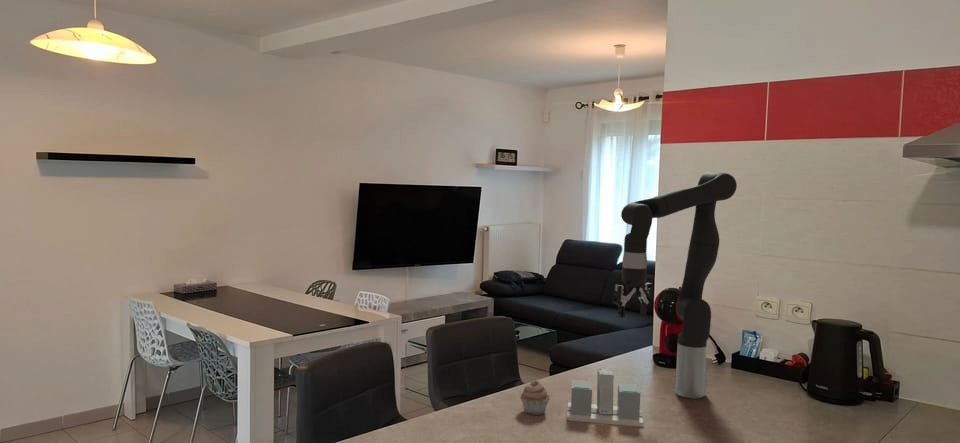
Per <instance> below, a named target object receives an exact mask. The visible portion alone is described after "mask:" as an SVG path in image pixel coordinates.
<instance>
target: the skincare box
mask: <svg viewBox="0 0 960 443" xmlns="http://www.w3.org/2000/svg"><path fill="white" fill-rule="evenodd" d="M596 372H597V375H596V376H597V377H596V378H597V380H596V381H597V382H596V384H597V385H596V386H597V389H596V405H597V408H598V411H599V413H600V414H609V415H612V414H613V406H614V373H613V372H612V370H611V369H609V368H597V370H596Z"/></svg>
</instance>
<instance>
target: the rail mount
mask: <svg viewBox="0 0 960 443" xmlns="http://www.w3.org/2000/svg"><path fill="white" fill-rule="evenodd" d="M639 386H640V385H639V384H635V383H632V384H631V383H621V382H618V383H617V404H616V405H613V414H612V415H609V414H600V413H599V411H598V408H597V403H596V404H595V403H594V404H593V402H592V401H593V400H592V398H593V382H592V380H583V379H581V380H580V379H572V380H571V397H570V398H571V399H570V402H567V415H566V416H567V417H566V418H567V419H566V420H567V421H570V422H571V421H572V422H583V423H595V424H605V425H616V426H626V427H627V426H628V427H638V428H639V427H641V428H643V427H644V419H643V414H642V410H641V389H640V387H639Z"/></svg>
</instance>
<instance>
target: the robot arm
mask: <svg viewBox="0 0 960 443" xmlns="http://www.w3.org/2000/svg"><path fill="white" fill-rule="evenodd" d="M737 184H738V183H737V180H736V179H735V177H734V176H733V175H731V174H730V173H726V172H716V171H709V172H705V173H703V174H702V175H701V176H700V177H699V180H698V182H697V185H695V186H691V187H687V188H681V189H676V190H670V191H668V192H665V193H662V194H659V195H656V196H653V197H651V198H647V199H641V200H638V201H633V202H630V203H628V204H626V205H625V206H624V207H623V208H622V210H621V213H620V214H621V215H620V216H621V220H622V221H623V222H624V223H625V224H627V225H630V226H631V227H630V232H629V233H628V232H627V233H626V234H625V235H624V241H623V242H624V243H623V256H622V267H621V268H622V270H621V271H622V272H621V279H622V284H621V285H620V284H614V285H613V293H612V294H613V295H612V303H613V304H615V305H617V314H618V315H617V316H618V317H619V318H622V319H623V318H625V317H626V304H627V303H628V302H629V301H630V299H634V298H636V299H639V301H640V303H639V314H640V316H647V313H648V305H649V303H652V302H654V284H653V283H652V282H651V283H650V282H646V281H647V271H648V270H647V269H648V268H647V267H648V257H647V256H648V255H647V254H648V253H647V250H648V247H647V246H648V245H647V244H648V237H649V235H650V231H651V228H652V223H653V219H660V218H664V217H667V216H670V215H673V214H675V213H678V212H681V211H683V210H686V209H690V208H693V207H695V212H694V217H693V218H694V219H693V225H692V229H691V236H690V238H689V239H690V240H689V245H688V251H687V259H686V264H685V269H684V274H683V275H684V276H683V281H682V284H681V287H680V291H679V294H678V297H677V301H676V306H675V311H676V315H677V316H678V318H679V319H680V320H681V321H683V323H682V331H681V333H679V334H678V336H677V345H676V346H677V348H676V349H677V350H676V370H675V372H676V373H675V388H674V389H675V392H674V393H675V394H676V395H677V396H679V397H682V398H686V399H693V400H694V399H695V400H696V399H702V398H704V397H705V396H707V389H708V388H707V387H708V385H707V384H708V367H707V366H706V365H707V362H706V361H707V342H708V339H709V338H710V335H711V333H710V332H711V323H712V322H711V321H712V310H711V309H712V308H711V306H710V305H709V303H708V302H707V301H706V300H704V299H703V292H704V287H705V284H706V283H705V282H706V281H707V278H708V277H709V274H710V273H711V271H712V270H713V268H714V266H715V264H716V261H717V258H718V252H719V248H720V234H719V231H718V227H717V222H716V217H715V215H716V214H715V212H716V207H717V206H716V205H717V202H718V201H726V200H729V199H730V198H732V197H733V196H734V195H735V193H736V191H737V187H738V186H737Z"/></svg>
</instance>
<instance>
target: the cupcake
mask: <svg viewBox="0 0 960 443" xmlns="http://www.w3.org/2000/svg"><path fill="white" fill-rule="evenodd" d="M519 399H520V400H521V402H522V407H523V411H524V413H525V414H528V415H531V416H540V415H544V413H545V412H546V408H547V405H548V402H550V399H551V398H550V395H549V394H548V392H547V389H546V387H544V385H543V384H542V382H540V381H539V380H535V379H534V380H531V382H530V383H529V384H526V385H525V387H524V389H523V391H522V393H521V394H520V396H519Z"/></svg>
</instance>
